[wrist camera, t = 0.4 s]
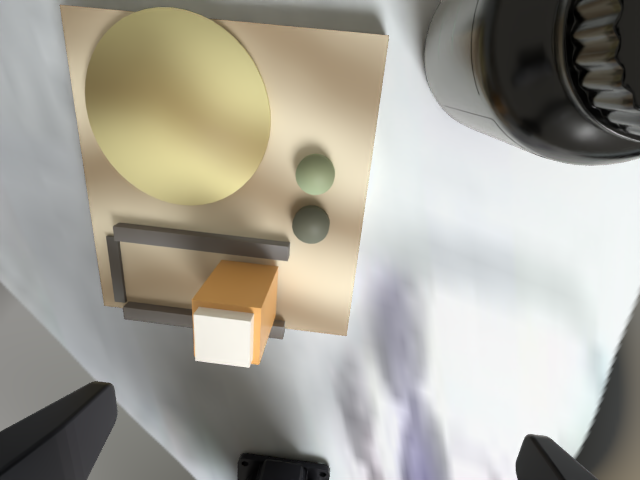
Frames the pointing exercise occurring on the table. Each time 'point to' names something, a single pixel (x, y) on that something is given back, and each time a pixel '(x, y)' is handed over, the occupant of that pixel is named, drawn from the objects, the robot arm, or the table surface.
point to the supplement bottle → (541, 74)
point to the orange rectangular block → (234, 313)
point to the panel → (224, 156)
